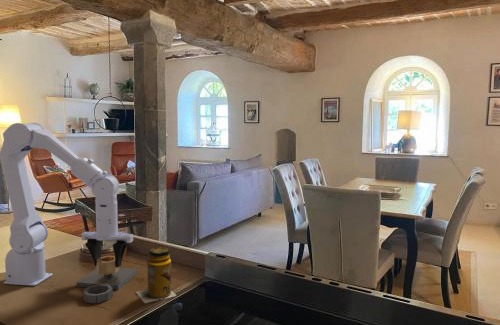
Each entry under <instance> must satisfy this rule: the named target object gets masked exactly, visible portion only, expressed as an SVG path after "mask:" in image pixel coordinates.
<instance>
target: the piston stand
mask: <svg viewBox="0 0 500 325" xmlns="http://www.w3.org/2000/svg"><path fill="white" fill-rule="evenodd" d="M137 273H138V268H129V267H119V270H118V271H117V272H116V273H112V274H108V275H103V274H98V272H97V267H96V268H94V270H92V271H91V272H89V273H87V274H86V275H85V276H84V277H82V278H80V279H79V280H78V281H76V287H77V288H78V287H79V288H88V287H89V286H93V285H98V284H106V285H110V286H111V287H112V288H113V290H117V291H119V290H120V289H121V288H122V287H123V286H124V285H126V283H128V282H129V281H130V280H131V279H132V278H133V277H134V276H135V275H137Z"/></svg>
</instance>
